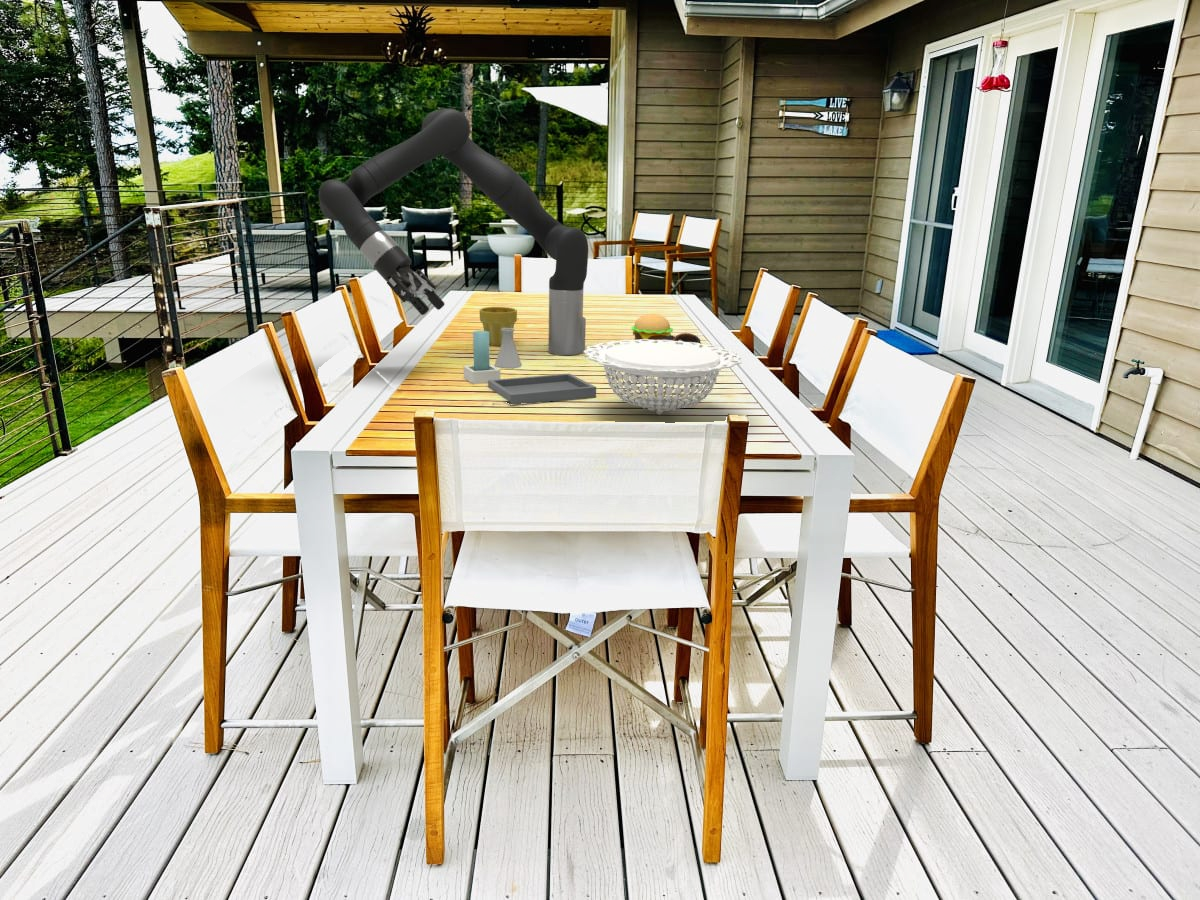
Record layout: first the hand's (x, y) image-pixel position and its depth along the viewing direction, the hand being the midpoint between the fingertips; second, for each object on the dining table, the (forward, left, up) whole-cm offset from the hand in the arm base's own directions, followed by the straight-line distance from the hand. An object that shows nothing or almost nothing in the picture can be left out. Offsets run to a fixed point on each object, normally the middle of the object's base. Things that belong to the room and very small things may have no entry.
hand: (434, 309), depth 194 cm
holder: (-9, +7, -16) cm, 20 cm away
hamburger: (-71, -22, -16) cm, 76 cm away
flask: (-20, -5, -16) cm, 26 cm away
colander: (-34, +45, -16) cm, 59 cm away
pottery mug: (-67, 0, -16) cm, 69 cm away
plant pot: (-29, -36, -16) cm, 49 cm away
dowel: (-9, +7, -15) cm, 19 cm away
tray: (-18, +21, -16) cm, 32 cm away
